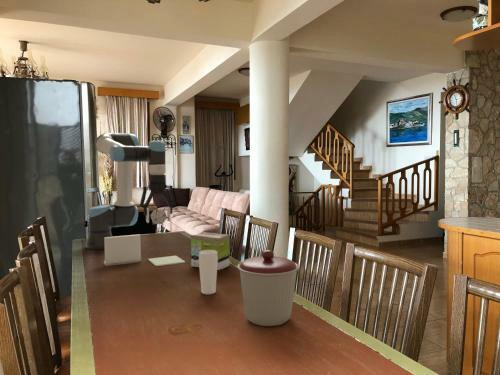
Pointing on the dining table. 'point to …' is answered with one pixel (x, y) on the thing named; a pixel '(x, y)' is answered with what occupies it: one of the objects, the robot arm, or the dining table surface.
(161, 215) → the game die
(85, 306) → the dining table surface
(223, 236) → the tea box
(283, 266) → the canister
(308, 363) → the dining table surface
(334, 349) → the dining table surface
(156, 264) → the tile
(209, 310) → the dining table surface
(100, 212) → the robot arm
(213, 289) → the drinking glass
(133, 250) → the screen
